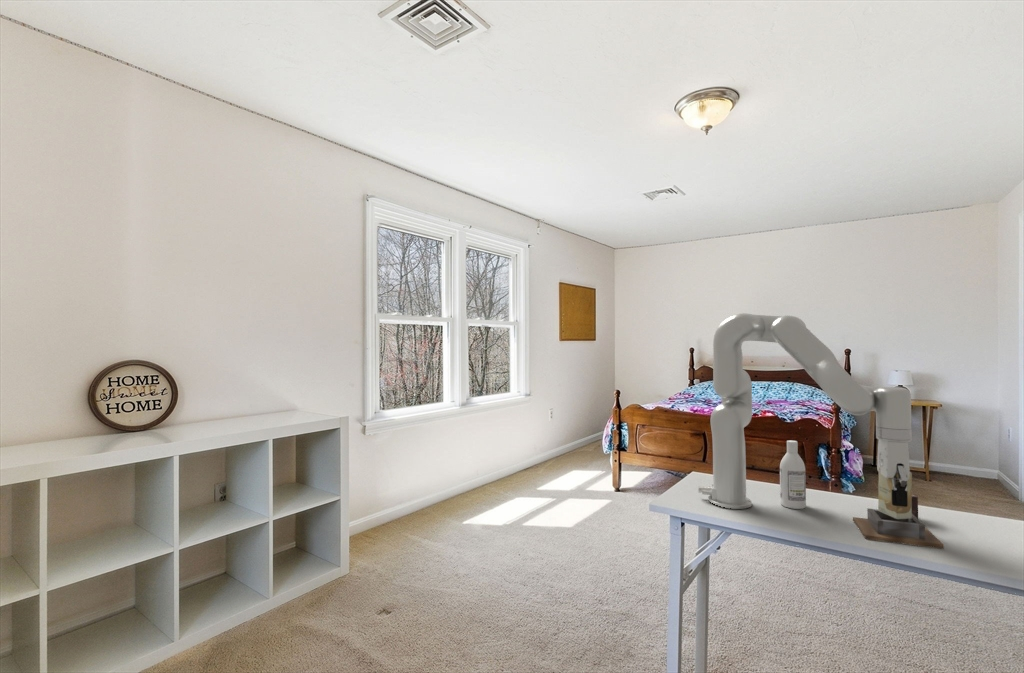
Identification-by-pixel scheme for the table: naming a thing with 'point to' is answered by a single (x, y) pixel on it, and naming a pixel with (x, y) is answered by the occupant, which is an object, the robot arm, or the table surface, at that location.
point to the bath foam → (792, 478)
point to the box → (915, 506)
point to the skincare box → (886, 498)
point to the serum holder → (895, 530)
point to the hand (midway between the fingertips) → (894, 500)
